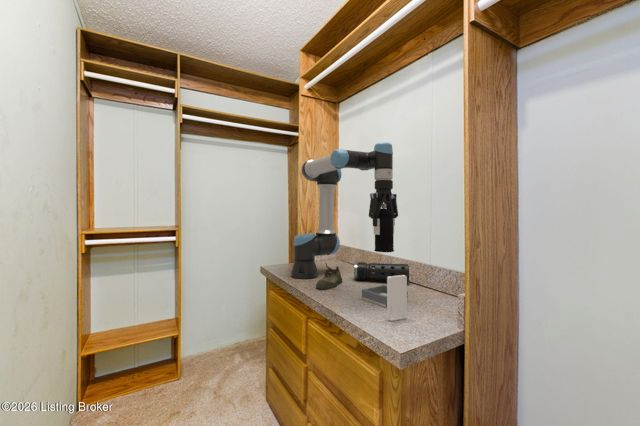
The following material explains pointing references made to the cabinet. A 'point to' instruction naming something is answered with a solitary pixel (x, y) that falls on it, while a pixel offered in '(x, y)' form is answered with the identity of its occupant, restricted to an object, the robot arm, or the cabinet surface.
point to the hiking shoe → (330, 279)
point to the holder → (376, 295)
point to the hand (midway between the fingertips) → (383, 233)
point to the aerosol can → (385, 231)
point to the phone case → (397, 297)
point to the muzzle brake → (379, 271)
